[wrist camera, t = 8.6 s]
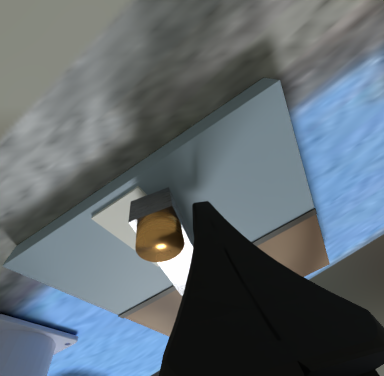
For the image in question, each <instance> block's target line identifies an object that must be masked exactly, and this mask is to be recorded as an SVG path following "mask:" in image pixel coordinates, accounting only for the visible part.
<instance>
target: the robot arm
mask: <svg viewBox="0 0 384 376" xmlns="http://www.w3.org/2000/svg"><path fill="white" fill-rule="evenodd" d="M192 214H193V234H194V245H193V252H192V258H191V263H190V268H189V273H188V277H187V281H186V285H185V289H184V293H183V296H182V300H181V303H180V306H179V310H178V313H177V317H176V320H175V323H174V326H173V329H172V331H171V334H170V337H169V340H168V343H167V346H166V349H165V352H164V355H163V359H162V364H161V369H160V373H159V376H379V374H378V373H377V371H376V370H375V369H376V368H378V367H380V366H381V365H383V364H384V328H383V326H381V324H380V323H379V322H378V321H377V320H376V319H375V317H374V316H373V315H372V314H371V313H370V312H369V311H368V310H366V309H364V308H362V307H360V306H358V305H356V304H354V303H352V302H350V301H348V300H346V299H344V298H342V297H339V296H338V295H335V294H334V293H331V292H329V291H328V290H326V289H324V288H322V287H320V286H318V285H316V284H315V283H313V282H311V281H309V280H307V279H306V278H304V277H302V276H300V275H299V274H297V273H296V272H294V271H292V270H291V269H289V268H287V267H286V266H284V265H283V264H281V263H279V262H278V261H276V260H275V259H273V258H272V257H270V256H269V255H268V254H266V253H265V252H264V251H262V250H261V249H259V248H258V247H257V246H256V245H254V244H253V243H252V242H251V241H249V240H248V239H247V238H246V237H245V236H243V235H242V234H241V233H240V232H239V231H238V230H237V229H235V228H234V227H233V226H232V225H231V224H230V223H229V222H228V221H227V220H226V219H225V218H224V217H223V216H222V215H221V214H220V213H219V212H218V211H217V210H216V209H215V208H214V206H213V205H212V204H211V203H210V202H209V201H204V202H196V203H194V204H193V205H192ZM77 340H78V336H76V335H72V334H69V333H65V332H62V331H58V330H55V329H52V328H48V327H45V326H41V325H38V324H34V323H31V322H27V321H24V320H21V319H17V318H14V317H10V316H7V315H3V314H0V376H47V373H48V370H49V367H50V364H51V360H52V357H53V355H54V354H56V353H58V352H60V351H62V350H64V349H65V348H67V347H69V346H71V345H73V344H75V343H76V342H77Z"/></svg>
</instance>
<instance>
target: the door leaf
mask: <svg viewBox="0 0 384 376" xmlns="http://www.w3.org/2000/svg"><path fill="white" fill-rule="evenodd" d="M168 187H169V188H170V190H171V192H172V194H173V197H174V199H175V201H176V203H177V205H178V207H179V209H180V211H181V214H182V216H183V218H184V220H185V222H186V224H187V226H188V228H189V231H190V233H191V235H192V237H193V239H194V234H193V214H192V205H193V204H194V203H196V202H204V201H209V202H210V203H211V204H212V205H213V206H214V208H215V209H216V210H217V211H218V212H219V213H220V214H221V215H222V216H223V217H224V218H225V219H226V220H227V221H228V222H229V223H230V224H231V225H232V226H233V227H234V228H235V229H237V230H238V231H239V232H240V233H241V234H242V235H243V236H245V237H246V238H247V239H248V240H249V241H251V242H253V241H255V240H257V239H259V238H260V237H262V236H264V235H266V234H268V233H270V232H271V231H273V230H275V229H277V228H279V227H281V226H282V225H284V224H286V223H288V222H290V221H292V220H293V219H295V218H297V217H299V216H301V215H303V214H304V213H306V212H308V211H310V210H312V209H314V204H313V201H312V197H311V193H310V190H309V186H308V182H307V179H306V175H305V171H304V168H303V164H302V160H301V156H300V153H299V149H298V145H297V142H296V138H295V134H294V131H293V127H292V123H291V119H290V116H289V112H288V108H287V105H286V101H285V97H284V94H283V90H282V86H281V83H280V80H276V79H269V78H262V79H261V80H259V81H258V82H256V83H255V84H253V85H252V86H251V87H249V88H248V89H246V90H245V91H243V92H242V93H240V94H239V95H237V96H236V97H234V98H233V99H231V100H230V101H229V102H227V103H226V104H224V105H223V106H221V107H220V108H218V109H217V110H215V111H214V112H212V113H211V114H209V115H208V116H207V117H205V118H204V119H202V120H201V121H199V122H198V123H196V124H195V125H193V126H192V127H190V128H189V129H187V130H186V131H185V132H183V133H182V134H180V135H179V136H177V137H176V138H174V139H173V140H171V141H170V142H168V143H167V144H165V145H164V146H163V147H161V148H160V149H158V150H157V151H155V152H154V153H152V154H151V155H149V156H148V157H146V158H145V159H143V160H142V161H141V162H139V163H138V164H136V165H135V166H133V167H132V168H130V169H129V170H127V171H126V172H124V173H123V174H121V175H120V176H119V177H117V178H116V179H114V180H113V181H111V182H110V183H108V184H107V185H105V186H104V187H102V188H101V189H99V190H98V191H97V192H95V193H94V194H92V195H91V196H89V197H88V198H86V199H85V200H83V201H82V202H80V203H79V204H77V205H76V206H75V207H73V208H72V209H70V210H69V211H67V212H66V213H64V214H63V215H61V216H60V217H58V218H57V219H55V220H54V221H53V222H51V223H50V224H48V225H47V226H45V227H44V228H42V229H41V230H39V231H38V232H36V233H35V234H33V235H32V236H31V237H29V238H28V239H26V240H25V241H23V242H22V243H20V244H19V245H17V246H16V247H15V249H14V250H13V252H12V253H11V254H10V256H9V257H8V259H7V260H6V261H5V263H4V264H3V267H5V268H8V269H10V270H12V271H15V272H17V273H19V274H22V275H24V276H27V277H29V278H31V279H34V280H36V281H39V282H41V283H43V284H46V285H48V286H50V287H53V288H55V289H58V290H60V291H62V292H65V293H67V294H69V295H72V296H74V297H77V298H79V299H81V300H84V301H86V302H89V303H91V304H93V305H96V306H98V307H100V308H103V309H105V310H108V311H110V312H112V313H115V314H117V315H120V314H121V313H123V312H125V311H127V310H129V309H131V308H132V307H134V306H136V305H138V304H140V303H142V302H143V301H145V300H147V299H149V298H151V297H153V296H154V295H156V294H158V293H160V292H162V291H164V290H165V289H167V288H169V287H171V286H173V283H172V282H171V281H170V279H169V278H168V277H167V275H166V274H165V272H164V271H163V270H162V268H161V267H160V265H159V264H158V263H157V262H149V261H146V260H144V259H142V258H141V257H139V256H138V254H137V253H136V249H135V245H136V232H135V231H134V230H133V228H132V227H131V225H130V224H129V223H128V220H129V212H130V203H131V201H133V200H136V199H138V198H141V197H144V196H146V195H149V194H152V193H154V192H157V191H160V190H162V189H165V188H168Z"/></svg>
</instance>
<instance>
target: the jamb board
mask: <svg viewBox="0 0 384 376" xmlns="http://www.w3.org/2000/svg"><path fill="white" fill-rule="evenodd" d="M316 214H317V213H316V209H315V208H314V209H312V210H310V211H308V212H306V213H304V214H303V215H301V216H299V217H297V218H295V219H293V220H292V221H290V222H288V223H286V224H284V225H282V226H281V227H279V228H277V229H275V230H273V231H271V232H270V233H268V234H266V235H264V236H262V237H260V238H259V239H257V240H255V241H253V242H252V243H253V244H254V245H256V246H257V247H258V248H259V249H261V250H262V251H264V252H265V253H266V254H268V255H269V256H270V257H272V258H273V259H275V260H276V261H278V262H279V263H281V264H283V265H284V266H286V267H287V268H289V269H291V270H292V271H294V272H296V273H297V274H299V275H300V276H302V277H304V276H306V275H308V274H310V273H312V272H314V271H316V270H318V269H321V268H323V267H325V266H327V265H329V260H328V256H327V253H326V249H325V245H324V241H323V238H322V234H321V230H320V227H319V223H318V219H317V216H316ZM181 300H182V296H181V295H180V293H179V292H178V290H177V289H176V288H175V286H174V285H173V286H171V287H169V288H167V289H165V290H164V291H162V292H160V293H158V294H156V295H154V296H153V297H151V298H149V299H147V300H145V301H143V302H142V303H140V304H138V305H136V306H134V307H132V308H131V309H129V310H127V311H125V312H123V313H121V314H120V315H118V316H119V317H121V318H127V319H129V320H131V321H134V322H136V323H138V324H141V325H143V326H146V327H148V328H150V329H153V330H155V331H158V332H160V333H162V334H165V335H167V336H169V337H170V334H171V331H172V329H173V326H174V323H175V320H176V317H177V313H178V310H179V306H180V303H181Z"/></svg>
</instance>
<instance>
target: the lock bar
mask: <svg viewBox="0 0 384 376" xmlns="http://www.w3.org/2000/svg"><path fill="white" fill-rule="evenodd" d="M128 223H129V224H130V225H131V227H132V228H133V230H134V231H135V232H136V245H135V249H136V253H137V254H138V256H139V257H141V258H142V259H144V260H146V261H149V262H157V263H158V264H159V265H160V267H161V268H162V270H163V271H164V272H165V274H166V275H167V277H168V278H169V279H170V281H171V282H172V283H173V285H174V286H175V288H176V289H177V290H178V292H179V293H180V295H181V296H183V293H184V289H185V285H186V281H187V277H188V273H189V268H190V263H191V258H192V252H193V245H194V239H193V237H192V235H191V233H190V231H189V228H188V226H187V224H186V222H185V220H184V218H183V216H182V214H181V211H180V209H179V207H178V205H177V203H176V201H175V199H174V197H173V194H172V192H171V190H170V188H169V187H168V188H165V189H162V190H160V191H157V192H154V193H152V194H149V195H146V196H144V197H141V198H138V199H136V200H133V201H131V203H130V212H129V220H128Z"/></svg>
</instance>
